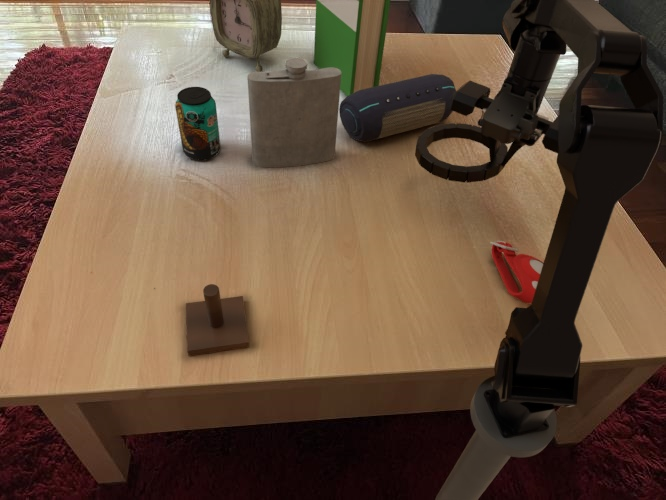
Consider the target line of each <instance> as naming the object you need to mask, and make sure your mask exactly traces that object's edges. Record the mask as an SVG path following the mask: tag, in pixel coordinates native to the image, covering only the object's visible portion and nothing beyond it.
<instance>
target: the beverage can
mask: <svg viewBox="0 0 666 500" xmlns="http://www.w3.org/2000/svg"><path fill="white" fill-rule="evenodd" d="M176 97H177V99H176V101H175V102H174V103H175V104H174V107H175V113H176V119H177V125H178V130H179V136H180V143H181V148H182V152H183V154H184V155H186V157H188V158H190V160H194V161H198V162H199V161H200V162H201V161H202V162H203V161H208V160H211V159H213V158H215V157H216V156H217V155H218V154H219V153H220V151H221V139H220V138H221V137H220V129H219V128H220V127H219V119H218V113H217V103H216V100H215V99H214V97H213V96H212V93H211V91H210V90H209V89H207V88H205V87H201V86H189V87H185V88H182V89H181V90H179V91H178V93H177V95H176Z"/></svg>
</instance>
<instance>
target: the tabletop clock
mask: <svg viewBox="0 0 666 500" xmlns="http://www.w3.org/2000/svg"><path fill="white" fill-rule="evenodd" d="M209 11H210V19H211V25H212V30H213V34H214V37H215V40H216V41H217V42H218V44H220V45H221V46H222V47H224V48H225V49H224V50H223V51H222V53H221V55H222V56H223V57H224V58H228V57H229V56H230V52H229V51H231V52H233V53H234V54H236V55H239V56H242V57H244V58H247V59H256V66H255V72H256V71H259V72H263V67H262V65H261V64H260V63H261V62H260V61H261V56H262V55H264V54H266V53H268V52H270V51H272V50H275V49H276V48H278V46H279V43H280V40H281V38H282V28H283V27H282V26H283V13H282V12H283V11H282V0H209Z"/></svg>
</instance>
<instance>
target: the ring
mask: <svg viewBox="0 0 666 500" xmlns="http://www.w3.org/2000/svg"><path fill="white" fill-rule="evenodd" d="M446 139H465V140H469V141H472V142H476V143H478V144H481V145H482V146H485V147H486V148H487V149H489V142H488V137H487V136H485V135H483V134H482V133H481V126H479V125H478V126H477V125H475V124H468V123H461V122H451V123H441V124H440V123H439V124H437V125H434V126H431V127H428V128H426V129H425V130H423V131H422V132H421V133H420V134H419V135H418V137H417V139H416V140H417V141H416V144H415V152H414V156H415V159H416V161H417V162H418V165H419V166H420V167H421V168H423V169H424V170H425V171H426V172H428V174H431V175H432V176H435V177H437V178H440V179H443V180H445V181H449V182H450V181H451V182H456V183H457V182H458V183H465V184H466V183H469V184H470V183H477V182H484V181H485V182H486V181H487V180H489V179H492V178H494V177H497V176H498V175H499V174H500V173H501V172H502V171H503V170H504V169H505V167H506V165H505V166H504V167H503V166H502V163H503V160H504V158H505V156H506V154H507V152H508V150H509V148H508V146H507V144H504V143H501V144H500V148H499V151H498V153H497V155H496V157H495V158H494V159H493V160H492V161H490V160H489V161H487V162H485V163H483V164H478V165H477V164H476V165H468V166H465V165H459V164H452V163H449V162H446V161H444V160H440V159H439V158H438V157H436V156H434V155H433V154H432V153H431V152H430V151H429V149H428V148H429V147H430V146H431V145H432V144H433V143H435V142H438V141H441V140H446Z"/></svg>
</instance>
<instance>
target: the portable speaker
mask: <svg viewBox="0 0 666 500" xmlns="http://www.w3.org/2000/svg"><path fill="white" fill-rule="evenodd" d="M456 91H457V89H456V86H455V82H454V81H453V80H452V78H450V77H449V76H446V75H445V74H439V73H437V74H436V73H429V74H425V75H421V76H420V75H419V76H416V77H412V78H408V79H402V80H398V81H394V82H393V81H392V82H388V83H385V84H379V86H376V87H371V88H367V89H362V90H359V91H357V92H355V93H353V94H351V95H349V96H346V97H345V98H343V100H341V101H340V103H339V109H338V113H339V118H340V122H341V124H342V126H343V128H344V130H345V132H346V133H347V135H348V136H349V137H350V138H352V139H353V140H356V141H359V142H363V143H364V142H371V141H375V140H378V139H383V138H386V137H390V136H393V135H397V134H400V133H404V132H409V131H413V130H415V129H419V128H423V127H428V126H430V125H434V124H438V123H439V124H440V123H441V122H444V121H446V120H447V119H448V118H449V117H450V116H451V114H452V113H453V111H452V110H450V108H449V105H450V101H451V98H452V96H453V94H454V92H456Z"/></svg>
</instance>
